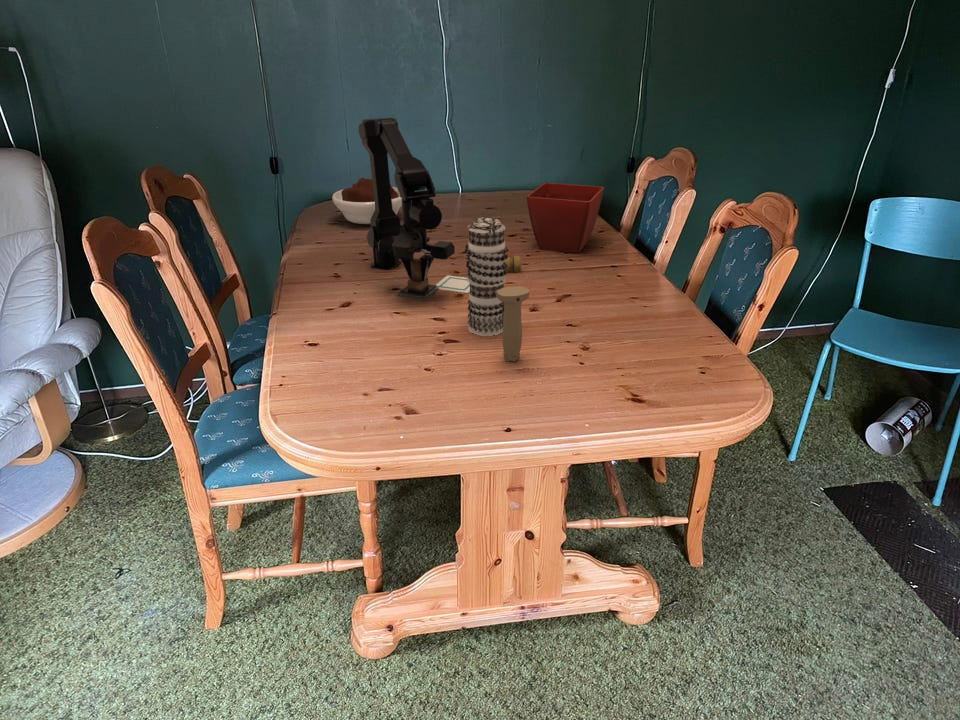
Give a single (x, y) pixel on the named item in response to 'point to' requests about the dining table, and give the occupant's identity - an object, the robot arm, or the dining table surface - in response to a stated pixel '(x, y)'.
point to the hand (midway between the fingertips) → (417, 279)
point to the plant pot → (563, 215)
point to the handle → (512, 320)
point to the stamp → (417, 277)
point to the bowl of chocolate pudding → (362, 201)
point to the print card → (454, 284)
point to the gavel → (513, 264)
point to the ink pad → (418, 293)
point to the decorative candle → (486, 275)
